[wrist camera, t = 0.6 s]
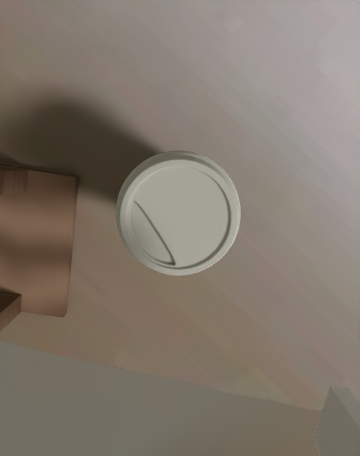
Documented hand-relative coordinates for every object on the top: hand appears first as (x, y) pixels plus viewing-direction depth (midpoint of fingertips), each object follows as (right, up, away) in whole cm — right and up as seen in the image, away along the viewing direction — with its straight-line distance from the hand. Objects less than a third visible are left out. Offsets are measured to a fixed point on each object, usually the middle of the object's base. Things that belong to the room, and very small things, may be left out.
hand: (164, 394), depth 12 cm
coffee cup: (0, +10, +19) cm, 21 cm away
